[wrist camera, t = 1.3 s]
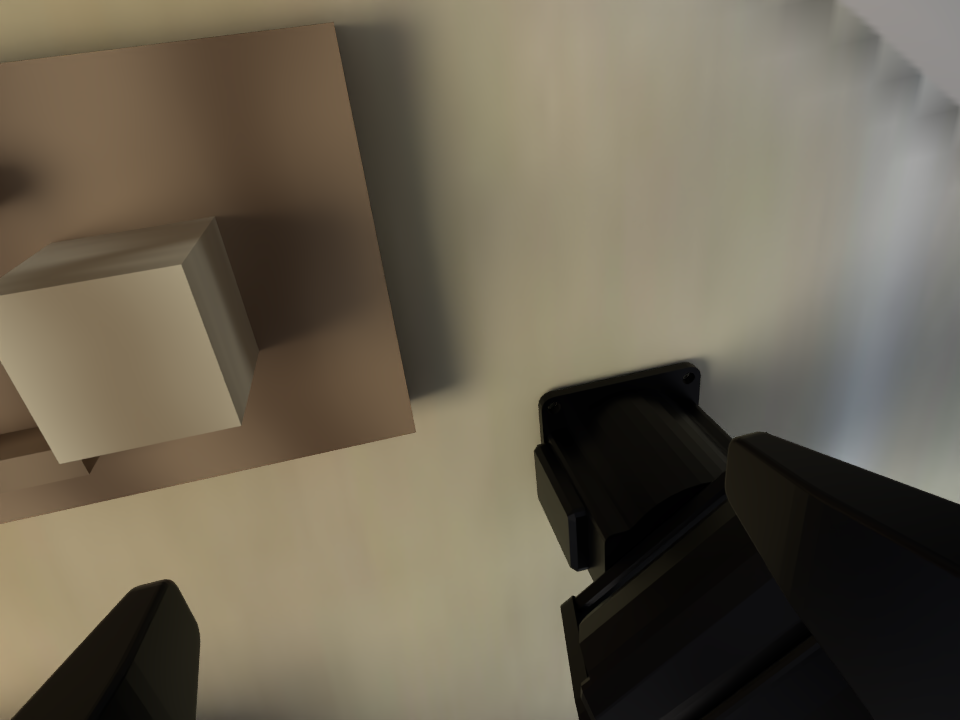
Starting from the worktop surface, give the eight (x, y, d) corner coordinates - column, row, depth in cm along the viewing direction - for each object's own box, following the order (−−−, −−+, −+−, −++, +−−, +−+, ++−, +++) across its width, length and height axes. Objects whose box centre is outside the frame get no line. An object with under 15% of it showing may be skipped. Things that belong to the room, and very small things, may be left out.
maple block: (214, 216, 16) (181, 264, 12) (259, 351, 17) (241, 426, 14) (50, 243, 15) (-34, 301, 12) (115, 379, 17) (59, 464, 13)
